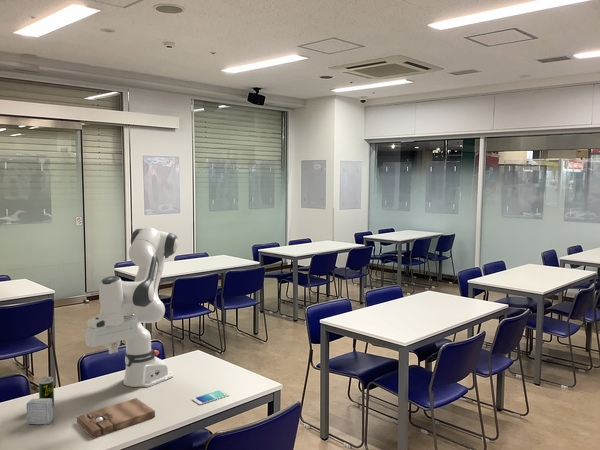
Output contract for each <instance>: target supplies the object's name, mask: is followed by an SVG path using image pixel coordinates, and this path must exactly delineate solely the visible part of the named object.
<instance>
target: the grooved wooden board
mask: <svg viewBox="0 0 600 450" xmlns="http://www.w3.org/2000/svg"><path fill="white" fill-rule="evenodd" d="M98 417H102V418H103V419H104V420H103V421H95V420H96V418H98ZM155 417H156V410H154V409H153V408H152V407H151V406H149V405H147V404H146V403H144V402H142V401H141V400H140V399H138V398H137V397H135V398H132V399H128V400H126V401H122V402H120V403H116V404H113V405H109V406H105V407H103V408H99V409H96V410H93V411H90V412H87V413H86V414H85V413H83V414H79V415H77V416H76V423H77V424H78V425H79V426H80V427H81V428H82V429H83V430H84V429H85V430H86V431H87V432H88V433H89V434H88V433H87V432H86V431H85V430H84V431H85V432H86V433H87V434H88V435H90V437H92V438H93V439H95V438H97V436H98V437H101V436H102V435H107V434H109V433H112V432H115V431H118V430H120V429H123V428H126V427H129V426H132V425H134V424H138V423H141V422H145V421H147V420H149V419H153V418H155ZM94 437H95V438H94Z"/></svg>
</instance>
